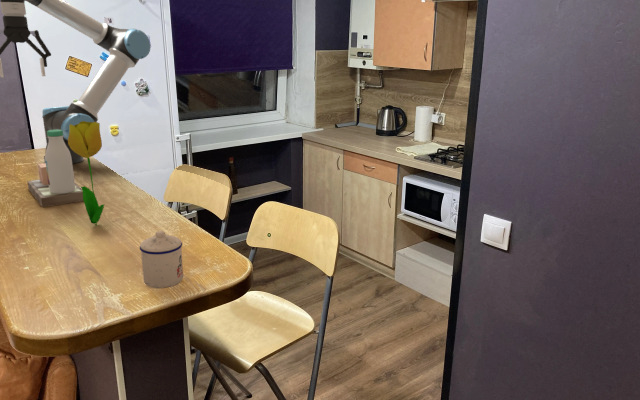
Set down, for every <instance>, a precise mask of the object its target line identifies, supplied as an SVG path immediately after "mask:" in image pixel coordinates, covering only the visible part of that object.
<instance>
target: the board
mask: <svg viewBox="0 0 640 400" xmlns="http://www.w3.org/2000/svg"><path fill="white" fill-rule="evenodd" d="M27 186H28V187H27V188H28V190H29V192H30V193H31V195H32V196H33V198H35V199H36V201H37V202H38V203H39V205H40V206H41V207H42V208H46V207H47V208H48V207H52V206H53V207H54V206H59V205H65V204H71V203H73V204H74V203H79V202H84V200H83V192H82V188H81V186H79V185H78V184H77V183H76V182H75V190H74V191H73V192H70V193H65V194H53V193H51V192H50V191H49V185H48V184H47V185H43V184H42V182H41V181H40V179H35V180H33V179H31V180H27Z"/></svg>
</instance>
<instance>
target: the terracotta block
mask: <svg viewBox="0 0 640 400" xmlns="http://www.w3.org/2000/svg"><path fill="white" fill-rule="evenodd" d="M37 169H38V175H39V180H40V181H41V182H42V184H43V185H47V184H48V177H47V170H46V163H37Z"/></svg>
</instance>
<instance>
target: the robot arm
mask: <svg viewBox="0 0 640 400" xmlns="http://www.w3.org/2000/svg"><path fill="white" fill-rule="evenodd" d="M25 2H26V3H27V2H28V3H29V4H31V5H32V6H35V7H36V8H39V9H40V10H41V11H43V12H45V13H47V14H48V15H50V16H52V17H54V18H56V19H57V20H59V21H60V22H62V23H64V24H65V25H67V26H69V27H71V28H72V29H75V30H76V31H78V32H79V33H81V34H83V35H85V36H86V37H89V38H90V39H92V41H93V43H94V44H96V45H97V46H99V47H101V48H102V49H104V50H106V51H107V52H109V55H108V57H107V59H106V60H105V62H104V63H103V65H101V67H100V69H99V70H98V71H97V73H96V75H95V76H94V77H93V79H92V80H91V82H90V83H89V84H88V86H87V87H86V88H85V90H84V91H83V93H82V95H81V96H80V97H79V98H78V100H77V101H73V102H71V103H70V104H69V105H65V106H55V107H44V108H43V109H42V111H41V112H42V117H41V118H42V121H43V127H44V128H43V129H44V135H45V142H46V143H45V144H46V145H45V152H44V154H45V153H46V150H47V147H48V143H49V139H48V136H47V131H49V130H63V136H64V137H63V140H64V143H65V145H66V146H67V148H68V149H69V151H70V154H71V158H72V165H73V164H77V163H80V162H83V161H84V157H81V156H80V155H78V154H77V153H75V152H74V151H73V150H72V149H71V148H70V146H69V145H68V137H69V125H70V124H71V125H74V126H75V125H77V124H79V123H80V122H81V121H86V122H98V120H99V117H98V114H99V113H100V110H101V109H102V107H103V106H104V104H105V103H106V102H107V100H108V98H109V97H110V96H111V94H112V93H113V91H114V90H115V89H116V87H117V86H118V84H119V83H120V82H121V80H122V78H123V77H124V76H125V74H126V72H127V71H128V69H129V68H135V66H136V65H137V64H138V62H139V60H140V59H141V60H142V59H144V58H146V57H147V56H148V55H150V52H151V47H152V46H151V42H150V38H149V37H148V35H147V34H146V33H145V32H144V31H143V30H140V29H137V28H118V27H115V26H111V25H109V24H108V23H106V22H102V23H101V22H100V21H98V20H96V19H95V18H93V17H92V16H90V15H88V14H87V13H85V12H84V11H82V10H80V9H79V8H77V7H75V6H73V5H72V4H70V3H68V2H66V1H65V0H0V9H1V14H2V15H3V16H2V23H3V30H2V29H0V37H2V35H4V36H5V37H6V39H5V40H4V42H3V43H2V44H1V45H0V56H1V55H2V53H3V52H4V51H5V49H6V48H7V47H8V46H9V44H10V43H13V44H14V43H15V44H17V43H22V44H24V43H26V44H28V46H30V47H31V48H32V49H33V50H34V51H35V52H36V53H37V54H38V55H39V56H40V57H39V63H40V72H41V73H40V74H41V76H42V77H46V70H45V68H46V67H48V61H47V58H49V57H51V56H52V53H51V51H50V50H49V49H48V47H47V46H46V43H45V42H44V40H43V39H42V38H41V37H40V36H41V35H40V33H39V30H37V29H34V30H30V29H29V25H28V19H27V18H28V17H27V16H26V14H27V12H26V11H27V10H26V3H25ZM30 36H33V37H34V38H35V39H36V42H37V43H38V44H39V45H40V47H41V49H42V50H41V49H40V48H39V47H38V46H37V45H36V44H35V43H33V42H32V40H30V38H29V37H30ZM4 75H5V74H4V69H3V63H2V58H0V78H3V79H4V78H5V77H4ZM43 162H44V163H46V162H45V155H44V156H43ZM44 163H43V164H44Z"/></svg>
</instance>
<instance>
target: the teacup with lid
mask: <svg viewBox="0 0 640 400" xmlns="http://www.w3.org/2000/svg"><path fill="white" fill-rule="evenodd" d="M182 247H183V242H182V240H181V238H179V237H177V236H174V235H169V234H167V233H166V232H165V231H163V230H158V231H155V235H152V236H150V237H148V238H146V239H144V240H142V241H141V243H140V245H139V250H140V253H141V254H140V255H141V263H142V264H141V265H142V275H143V283H144V284H145V285H146V286H147V287H150V288H154V289H155V288H156V289H164V288H170V287H174V286H176V285H178V284H180V283H181V282H182V280H183V278H184V269H183V268H184V267H183V256H182V255H183V253H182V252H183V250H182Z"/></svg>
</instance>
